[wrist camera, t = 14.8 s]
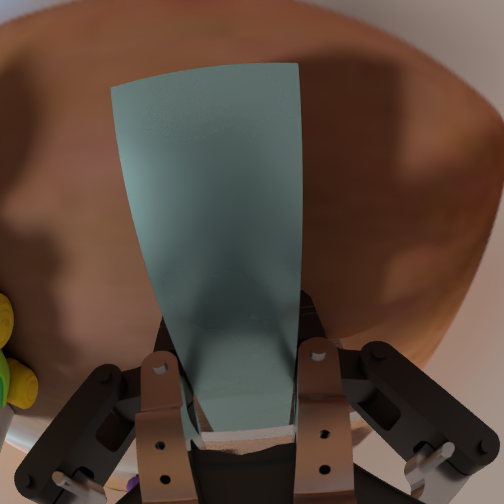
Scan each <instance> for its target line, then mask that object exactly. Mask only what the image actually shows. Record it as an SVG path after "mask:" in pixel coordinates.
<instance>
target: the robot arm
mask: <svg viewBox="0 0 504 504" xmlns="http://www.w3.org/2000/svg"><path fill="white" fill-rule="evenodd" d="M294 383H295V401H294V424H293V438H292V443H288V444H281V445H276V446H273V447H270V448H267V449H264V450H261V451H258V452H255V453H252V454H249V455H236V454H230V453H225V452H219V451H214V450H207V449H206V447H205V444H204V442H203V438H202V434H201V430H200V425H199V420H198V415H197V410H196V405H195V400H194V398H193V395H194V391H193V389H192V386H191V384H190V382H189V380H188V378H187V375H186V373H185V371H184V369H183V366H182V364H181V362H180V359H179V357H178V354H177V352H176V349H175V347H174V344H173V342H172V339H171V337H170V334H169V332H168V329H167V326H166V324H165V321H164V318H163V316H162V321H161V323H160V328H159V331H158V335H157V339H156V343H155V347H154V351H153V353H151V354H149V355H148V356H147V357H146V358H145V359H144V360H143V362H142V364H141V366H140V367H138V368H135V369H131V370H127V371H123V372H121V371H120V369H119V368H118V367H117V366H115V365H113V364H104V365H101V366H99V367H97V368H96V369H95V370H94V371H93V372H92V373H91V374H90V375H89V377H88V378H87V379H86V380H85V381H84V383H83V384H82V385H81V386H80V387H79V389H78V390H77V391H76V392H75V394H74V395H73V396H72V397H71V398H70V400H69V401H68V402H67V403H66V405H65V406H64V407H63V408H62V410H61V411H60V412H59V413H58V415H57V416H56V417H55V419H54V420H53V421H52V422H51V424H50V425H49V426H48V428H47V429H46V430H45V431H44V433H43V434H42V435H41V437H40V438H39V439H38V441H37V442H36V443H35V445H34V446H33V447H32V449H31V450H30V452H29V453H28V454H27V456H26V457H25V458H24V460H23V461H22V463H21V464H20V465H19V467H18V468H17V470H16V472H15V476H14V481H15V486H16V488H17V490H18V492H19V493H20V494H21V495H22V496H24V497H25V498H27V499H29V500H32V501H34V502H36V503H38V504H106V503H107V498H106V495H105V491H104V489H103V486H104V485H105V483H106V482H107V480H108V479H109V477H110V476H111V474H112V472H113V471H114V469H115V468H116V466H117V465H118V463H119V462H120V460H121V459H122V457H123V455H124V454H125V452H126V451H127V449H128V448H129V446H130V445H131V443H132V442H133V440H134V438H135V437H136V451H137V463H138V473H139V482H138V483H137V484H136V485H135V486H134V487H133V488H132V489H131V490H130V491H129V492H128V493H127V494H126V495H124V496H123V497H122V498H121V499H120V500H119V501H118V502H117V503H116V504H448V503H449V502H450V501H451V500H452V499H453V497H454V496H455V495H456V494H457V493H458V492H459V490H460V489H461V488H462V486H463V485H464V484H465V483H466V482H467V480H468V479H469V477H470V476H471V475H472V474H474V473H476V472H477V471H479V470H480V469H482V468H484V467H485V466H487V465H488V464H490V463H491V462H493V461H494V459H495V458H496V457H497V455H498V453H499V449H500V441H499V438H498V435H497V434H496V433H495V432H494V431H493V430H492V429H491V428H490V427H488V426H487V425H486V424H485V423H484V422H483V421H481V420H480V419H479V418H478V417H477V416H475V415H474V414H473V413H472V412H470V410H468V409H467V408H466V407H465V406H464V405H462V404H461V403H460V402H459V401H458V400H456V399H455V398H454V397H453V396H451V395H450V394H449V393H448V392H447V391H446V390H444V389H443V388H442V387H441V386H440V385H438V384H437V383H436V382H435V381H434V380H432V379H431V378H430V377H429V376H428V375H426V374H425V373H424V372H423V371H421V370H420V369H419V368H418V367H417V366H415V365H414V364H413V363H412V362H410V361H409V360H408V359H407V358H406V357H404V356H403V355H402V354H401V353H399V352H398V351H397V350H396V349H394V348H393V347H392V346H391V345H389V344H387V343H385V342H381V341H373V342H369V343H367V344H366V345H364V346H363V348H362V349H361V351H358V350H345V349H340V348H338V347H336V345H335V344H334V343H333V342H332V341H330V340H328V339H327V337H326V334H325V332H324V329H323V327H322V324H321V322H320V319H319V317H318V314H317V313H316V309H315V307H314V304H313V302H312V300H311V297H310V296H309V295H308V294H307V293H305V292H304V291H303V290H300V306H299V322H298V337H297V350H296V362H295V373H294ZM349 404H350V405H351V406H352V408H353V409H354V410H355V411H356V412H357V413H358V414H359V415H360V416H361V417H362V418H363V419H364V420H365V421H366V422H367V423H368V424H369V425H370V426H371V427H372V428H373V429H374V430H375V431H376V432H377V433H378V434H379V435H380V436H381V437H382V438H383V439H384V440H385V441H386V442H387V443H388V444H389V445H390V446H391V447H392V448H393V449H394V450H395V451H396V452H397V453H398V454H399V455H400V456H401V457H402V458H403V459H404V460H405V461H406V462H407V463H406V465H405V469H404V473H405V477H406V479H407V481H408V482H409V484H410V486H411V495H408V494H406V493H404V492H403V491H401V490H399V489H397V488H395V487H393V486H391V485H390V484H388V483H386V482H385V481H383V480H381V479H379V478H378V477H376V476H374V475H373V474H371V473H369V472H368V471H366V470H365V469H363V468H361V467H360V466H358V465H356V464H355V463H354V462H353V451H352V436H351V424H350V413H349ZM13 415H14V411H13V409H12V408H11V407H10V405H9V404H8V403H7V402H6V406H5V407H4V408H1V409H0V452H1V448H2V446H3V443H4V440H5V437H6V434H7V431H8V429H9V426H10V423H11V420H12V418H13ZM107 415H108V416H107ZM102 422H103V423H102Z"/></svg>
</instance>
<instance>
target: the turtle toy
mask: <svg viewBox="0 0 504 504" xmlns="http://www.w3.org/2000/svg"><path fill="white" fill-rule="evenodd" d="M13 324H14V313H13V310H12V306H11V303H10V301H9V300H8V298H7V297H6V296H5V295H3V294H2V293H0V409H1V408H4V407H5V406H6V402H8V403H11V404H13V405H15V406H17V407H19V408H22V409H27V408H29V407H31V406H32V405H33V403H34V402H35V399H36V397H37V392H38V381H37V378H36V376H35V374H34V372H33V371H32V370H30V369H29V368H27V367H26V366H24V365H22V364H20V362H19V361H17V360H15V359H13V358H8V359H5V357H4V355H3V353H2V350H1V348H2V347H3V346H4V345H5V344H6V343H7V341H8V340H9V338H10V336H11V333H12V329H13Z"/></svg>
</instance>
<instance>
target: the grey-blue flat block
mask: <svg viewBox="0 0 504 504" xmlns="http://www.w3.org/2000/svg"><path fill="white" fill-rule="evenodd" d="M111 97H112V106H113V115H114V122H115V130H116V137H117V143H118V149H119V155H120V161H121V166H122V171H123V177H124V182H125V186H126V191H127V196H128V200H129V204H130V209H131V213H132V217H133V221H134V225H135V229H136V233H137V236H138V240H139V244H140V247H141V251H142V254H143V258H144V261H145V264H146V268H147V271H148V274H149V277H150V281H151V284H152V287H153V290H154V293H155V296H156V299H157V302H158V304H159V307H160V310H161V313H162V316H163V318H164V321H165V324H166V326H167V329H168V332H169V334H170V337H171V339H172V342H173V344H174V347H175V349H176V352H177V354H178V357H179V359H180V362H181V364H182V366H183V369H184V371H185V373H186V375H187V378H188V380H189V382H190V384H191V386H192V389H193V391H194V395H193V398H194V400H195V405H196V410H197V415H198V420H199V425H200V430H201V434H202V438H203V442H212V441H237V440H251V439H261V438H270V437H278V436H285V435H292V434H293V424H294V401H295V383H294V373H295V362H296V350H297V337H298V322H299V306H300V286H301V262H302V220H303V165H302V125H301V102H300V84H299V68H298V63H249V64H234V65H222V66H213V67H204V68H197V69H190V70H184V71H178V72H173V73H167V74H162V75H158V76H153V77H149V78H144V79H140V80H136V81H132V82H129V83H125V84H122V85H118V86H115V87H111ZM328 340H330V341H332V342H333V343H334V344H335V345H336V347H338V348H340V349H343V347H342V345H341V342H340V340H339V337H336V338H330V339H328ZM349 413H350V422H353V421H357V420H359V419H360V418H361V416H360V415H359V414H358V413H357V412H356V411H355V410H354V409H353V408H352V406H351V405H350V404H349Z"/></svg>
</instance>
